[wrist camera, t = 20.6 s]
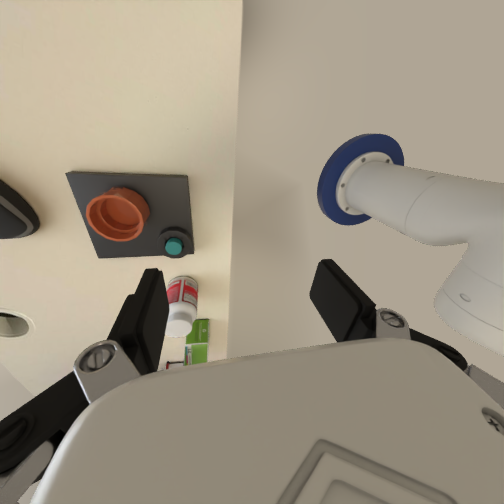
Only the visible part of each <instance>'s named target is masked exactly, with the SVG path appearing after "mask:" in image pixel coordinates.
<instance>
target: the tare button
mask: <svg viewBox="0 0 504 504" xmlns="http://www.w3.org/2000/svg"><path fill="white" fill-rule="evenodd" d="M165 249H166V251H167V252H168V253H169V254H171V255H177V254H179V253H180V252H181V250H182V242H181V240H180V239H178V238H170V239H169V240H168V241H167V243H166V246H165Z"/></svg>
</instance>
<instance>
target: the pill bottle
mask: <svg viewBox="0 0 504 504" xmlns="http://www.w3.org/2000/svg"><path fill="white" fill-rule="evenodd" d="M167 297H168V302H169V316H168V321H167V326H166V331H165V334H166V335H167V336H169V337H172V338H180V337H184V336H186V335H188V334H189V333H190V332H191V330H192V324H193V322H194V321H195V319H196V317H197V297H198V286H197V283H196V282H195V281H194V280H193V279H191V278H189V277H177V278H174V279H173V280H171V281H170V283H169V284H168V287H167Z"/></svg>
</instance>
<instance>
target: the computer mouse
mask: <svg viewBox="0 0 504 504" xmlns="http://www.w3.org/2000/svg"><path fill="white" fill-rule="evenodd" d="M38 227H39V222H38V219H37V217H36V215H35V213H34V212H33V211H32V209H31V208H30V207H29V205H28V204H27V203H26V202H25V201H24V200H23V199H22V198H21V197H20V196H19V195H18V194H17V193H15V192H14V191H13V190H12V189H11V188H9V187H8V186H7V185H5V184H4V183H3V182H1V181H0V239H12V238H21V237H26V236H29V235H31V234H33V233H34V232H35V231H36V230H37V229H38Z"/></svg>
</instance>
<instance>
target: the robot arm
mask: <svg viewBox="0 0 504 504" xmlns="http://www.w3.org/2000/svg"><path fill="white" fill-rule="evenodd" d="M336 201H337V204H338V206H339V207H340V208H341V210H343V211H344V212H346V213H348V214H351V215H360V214H366V215H368V216H370V217H372V218H374V219H376V220H378V221H380V222H382V223H384V224H385V225H387V226H389V227H391V228H393V229H395V230H397V231H399V232H401V233H402V234H404V235H406V236H409V237H410V238H412V239H414V240H416V241H418V242H420V243H423V244H426V245H432V246H447V245H455V244H461V243H468V248H467V250H466V252H465V253H464V255H463V256H462V259H461V260H460V261H459V263H458V264H457V266H456V267H455V268H454V270H453V271H452V272H451V274H450V275H449V277H448V278H447V279H446V280H445V282H444V283H443V285H442V286H441V287H440V289H439V290H438V293H437V294H436V296H435V299H434V307H435V310H436V312H437V314H438V315H439V317H440V318H441V319H442V320H443V321H444V322H445V323H446V324H447V325H448V326H450V327H451V328H452V329H454V330H455V331H457V332H458V333H460V334H461V335H463V336H465V337H466V338H468V339H470V340H471V341H473V342H475V343H477V344H479V345H481V346H483V347H485V348H487V349H489V350H491V351H493V352H495V353H497V354H499V355H501V356H503V357H504V183H497V182H490V181H483V180H477V179H472V178H466V177H460V176H454V175H449V174H443V173H438V172H433V171H427V170H422V169H416V168H411V167H405V166H400V165H395V164H393V162H392V160H391V158H390V157H389V156H388V155H386V154H384V153H381V152H367V153H364V154H362V155H360V156H358V157H357V158H355V159H354V160H353V161H351V162H350V163H349V164H348V166H347V167H346V168H345V169H344V171H343V172H342V174H341V176H340V178H339V180H338V183H337V186H336ZM310 299H311V300H312V302H313V304H314V305H315V307H316V309H317V310H318V312H319V314H320V315H321V317H322V318H323V320H324V322H325V323H326V325H327V326H328V328H329V330H330V331H331V333H332V335H333V336H334V338H335V340H336V341H337V343H331V344H325V345H318V346H310V347H304V348H297V349H291V350H283V351H277V352H270V353H263V354H257V355H251V356H244V357H237V358H231V359H224V360H217V361H211V362H205V363H199V364H193V365H187V366H181V367H176V368H171V369H166V370H162V371H157V369H158V365H159V360H160V355H161V350H162V345H163V340H164V336H165V331H166V326H167V321H168V316H169V302H168V297H167V292H166V287H165V282H164V278H163V273H162V271H159V270H158V268H152V269H145V271H144V273H143V276H142V278H141V280H140V283H139V285H138V287H137V289H136V292H135V294H131V295H128V296H127V298H126V300H125V302H124V304H123V306H122V308H121V310H120V313H119V315H118V317H117V319H116V321H115V323H114V325H113V327H112V329H111V332H110V334H109V336H108V338H107V340H103V341H100V342H97V343H95V344H93V345H91V346H89V347H88V348H86V349H85V350H84V351H83V352H82V353H81V354H80V355H79V356H78V358H77V359H76V361H75V364H74V371H73V372H71V373H70V374H68V375H67V376H65V377H64V378H62V379H61V380H59V381H58V382H56V383H55V384H54V385H52V386H51V387H49V388H48V389H46V390H45V391H43V392H42V393H40V394H39V395H38V396H36V397H35V398H33V399H32V400H31V401H29V402H27V403H26V404H24V405H23V406H22V407H20V408H19V409H17V410H16V411H14V412H13V413H11V414H10V415H8V416H7V417H6V418H4V419H3V420H1V421H0V504H19V503H18V502H17V501H18V500H19V499H20V497H21V496H22V495H23V494H24V492H25V491H26V490H27V489H28V488H29V486H30V485H31V484H33V483H35V482H37V481H39V480H40V479H41V481H40V483H39V485H38V487H37V489H36V491H35V493H34V495H33V497H32V499H31V501H30V504H504V383H503V382H501V381H499V380H498V379H496V378H494V377H493V376H491V375H489V374H488V373H486V372H484V371H483V370H481V369H479V368H478V367H476V366H474V365H473V364H471V365H470V366H469V365H468V364H467V362H466V360H465V358H464V357H463V356H462V355H461V354H460V353H459V352H458V351H457V350H455V349H454V348H453V347H451V346H449V345H447V344H445V343H443V342H441V341H438V340H436V339H434V338H431V337H429V336H426V335H424V334H422V333H420V332H417V331H415V330H413V329H410V328H409V325H408V323H407V321H406V320H405V318H403V317H402V316H401V315H400V314H398V313H397V312H395V311H393V310H390V309H387V308H381V309H378V310H376V309H375V306H376V304H375V303H374V302H373V301H371V299H370V298H369V297H368V296H367V295H366V294H365V293H364V292H363V291H362V290H361V289H360V288H359V287H358V286H357V285H356V284H355V283H354V281H352V279H351V278H350V277H349V276H348V275H346V273H345V272H344V271H343V270H342V269H341V268H340V267H339V266H338V265H337V264H336V263H335V262H334V261H333V260H332V259H323V260H321V262H319V263H318V266H317V270H316V273H315V277H314V280H313V283H312V287H311V290H310Z"/></svg>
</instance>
